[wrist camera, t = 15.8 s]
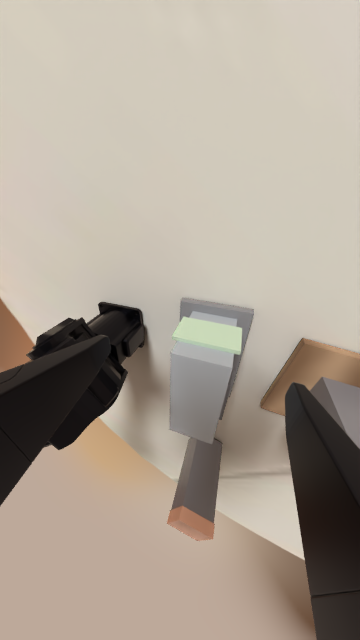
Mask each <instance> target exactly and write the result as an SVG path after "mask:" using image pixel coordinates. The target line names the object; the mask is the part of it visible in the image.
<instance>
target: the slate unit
mask: <svg viewBox="0 0 360 640" xmlns="http://www.w3.org/2000/svg"><path fill="white" fill-rule="evenodd" d="M253 315H254V309H248V308H242V307H236V306H230V305H224V304H219V303H213V302H207V301H201V300H195V299H189V298H182V300H181V305H180V323H179V325H178V327H177V328H176V330H175V332H174V334H173V335H172V340H176V341H177V342H176V344H175V346H174V348H173V350H172V352H171V373H170V430H172V431H175V432H178V433H180V434H183V435H186V436H189V437H192V438H195V439H198V440H201V441H204V442H206V443H209V444H212V443H213V439H214V435H215V432H216V428H217V424H218V420H222V416H223V413H224V409H225V406H226V402H227V398H228V397H230V394H231V391H232V387H233V384H234V381H235V377H236V374H237V370H238V367H239V363H240V360H241V356H242V353H243V350H244V346H245V343H246V339H247V336H248V332H249V329H250V325H251V322H252V318H253Z"/></svg>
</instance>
